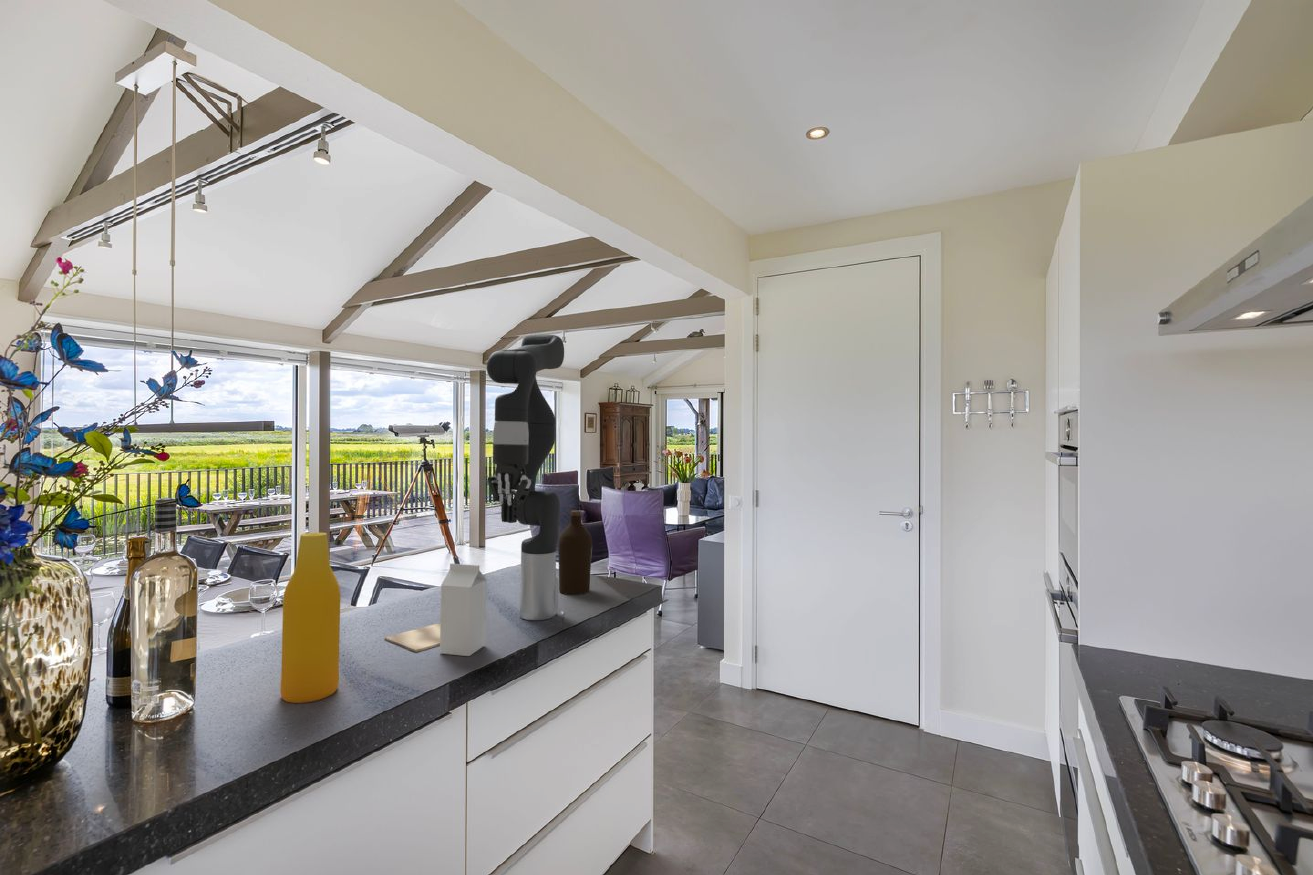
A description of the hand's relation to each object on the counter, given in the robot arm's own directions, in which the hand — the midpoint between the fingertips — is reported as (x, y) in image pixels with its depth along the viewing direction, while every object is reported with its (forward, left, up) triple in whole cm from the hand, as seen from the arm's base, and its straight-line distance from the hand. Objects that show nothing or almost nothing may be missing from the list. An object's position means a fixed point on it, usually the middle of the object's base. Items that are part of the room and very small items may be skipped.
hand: (509, 521), depth 129 cm
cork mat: (+4, -23, -29) cm, 37 cm away
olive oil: (-49, -28, -29) cm, 64 cm away
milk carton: (+4, -10, -29) cm, 31 cm away
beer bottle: (+35, -12, -29) cm, 47 cm away
